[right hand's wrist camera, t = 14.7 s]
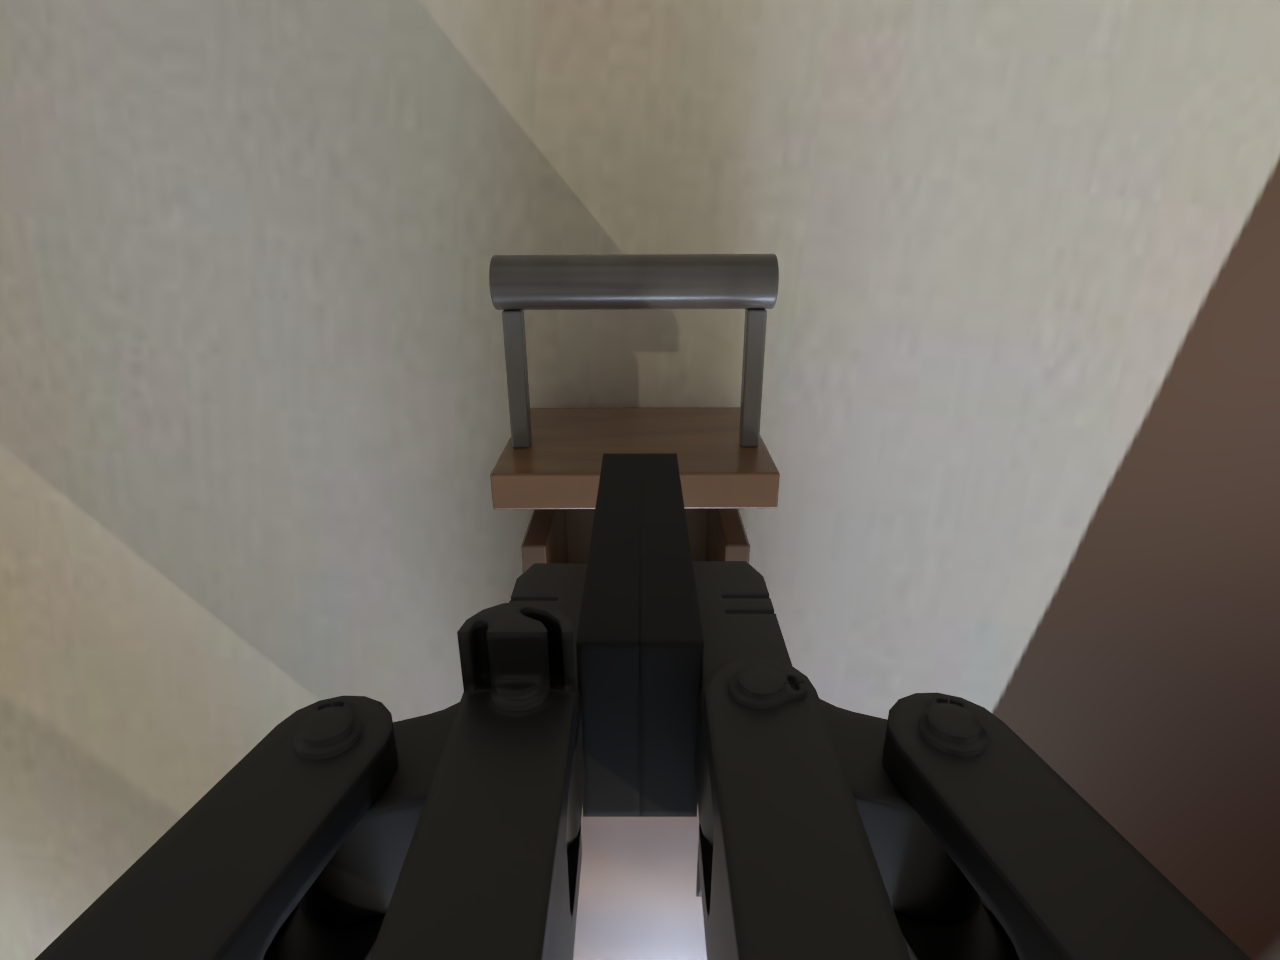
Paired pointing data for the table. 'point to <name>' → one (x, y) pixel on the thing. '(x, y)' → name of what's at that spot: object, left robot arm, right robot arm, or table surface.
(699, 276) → the wooden drawer
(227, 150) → the table surface
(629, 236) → the table surface
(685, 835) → the wooden drawer box
